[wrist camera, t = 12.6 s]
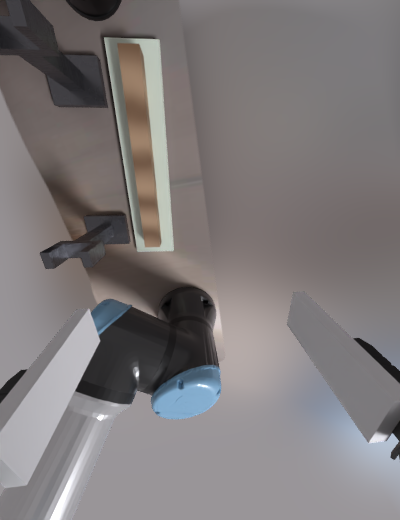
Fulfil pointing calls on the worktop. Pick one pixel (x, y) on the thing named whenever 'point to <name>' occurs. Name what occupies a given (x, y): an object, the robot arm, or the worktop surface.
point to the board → (157, 134)
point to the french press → (95, 8)
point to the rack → (64, 95)
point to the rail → (140, 138)
